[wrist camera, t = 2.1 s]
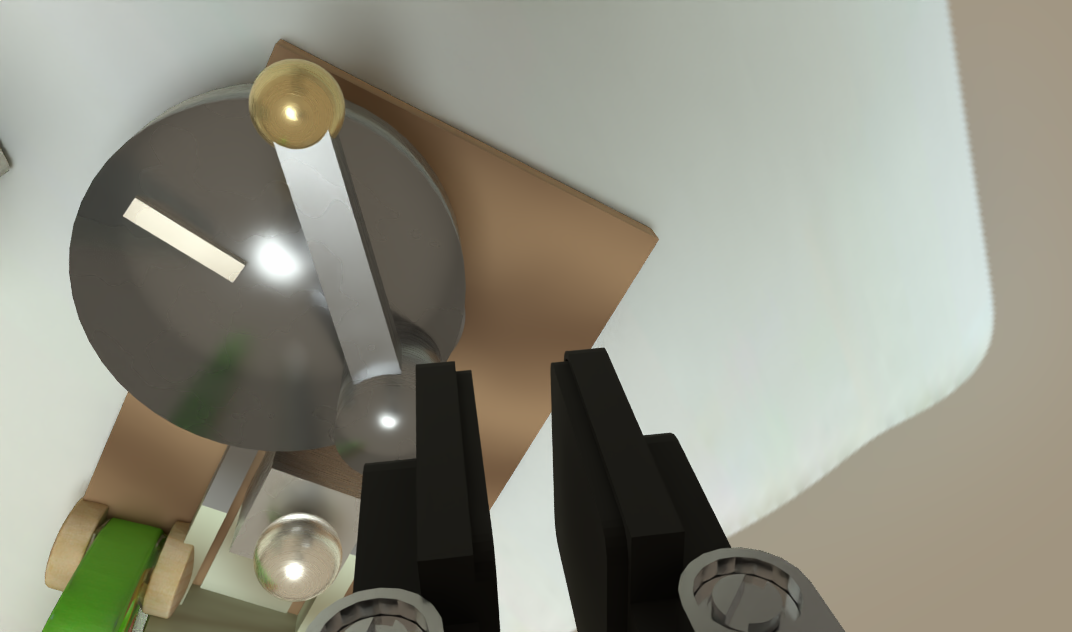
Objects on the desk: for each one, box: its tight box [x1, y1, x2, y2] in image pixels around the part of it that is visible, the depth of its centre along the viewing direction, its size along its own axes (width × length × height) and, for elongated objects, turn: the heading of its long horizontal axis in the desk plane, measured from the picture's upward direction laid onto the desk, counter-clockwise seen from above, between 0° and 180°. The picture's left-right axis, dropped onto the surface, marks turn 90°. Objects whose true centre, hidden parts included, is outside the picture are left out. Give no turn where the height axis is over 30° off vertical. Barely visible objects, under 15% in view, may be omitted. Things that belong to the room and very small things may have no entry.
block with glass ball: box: [229, 445, 363, 602], centre depth 32 cm, size 4×4×6 cm
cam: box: [69, 59, 466, 475], centre depth 27 cm, size 12×13×8 cm
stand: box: [83, 39, 659, 632], centre depth 33 cm, size 23×15×5 cm, turn 151°
